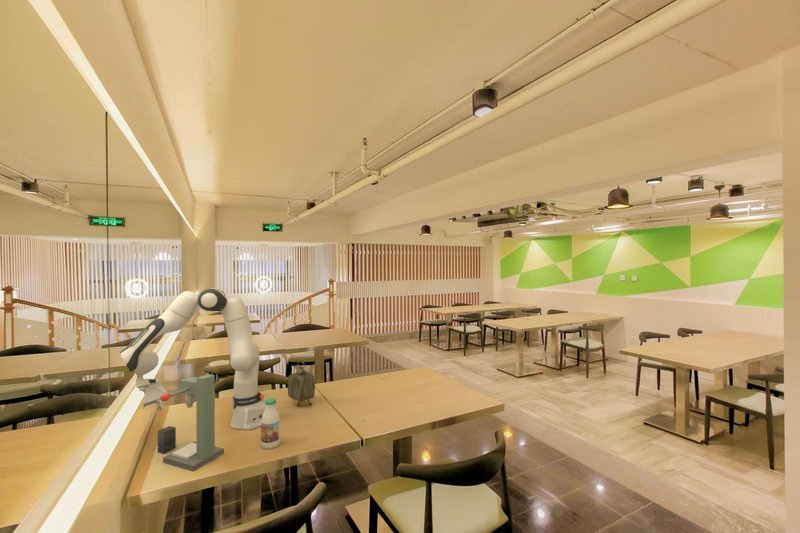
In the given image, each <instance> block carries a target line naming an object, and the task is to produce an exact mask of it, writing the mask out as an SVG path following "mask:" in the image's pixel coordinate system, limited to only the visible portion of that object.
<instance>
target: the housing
mask: <svg viewBox="0 0 800 533" xmlns="http://www.w3.org/2000/svg"><path fill="white" fill-rule="evenodd" d="M176 429H177V428H176V427H175V426H171V425H168V426H166V427H163V428H161V429H159V430H157V453H159V454H162V455H165V454H168V453H169V452H171V451H173V450H176V444H177V434H176Z"/></svg>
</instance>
